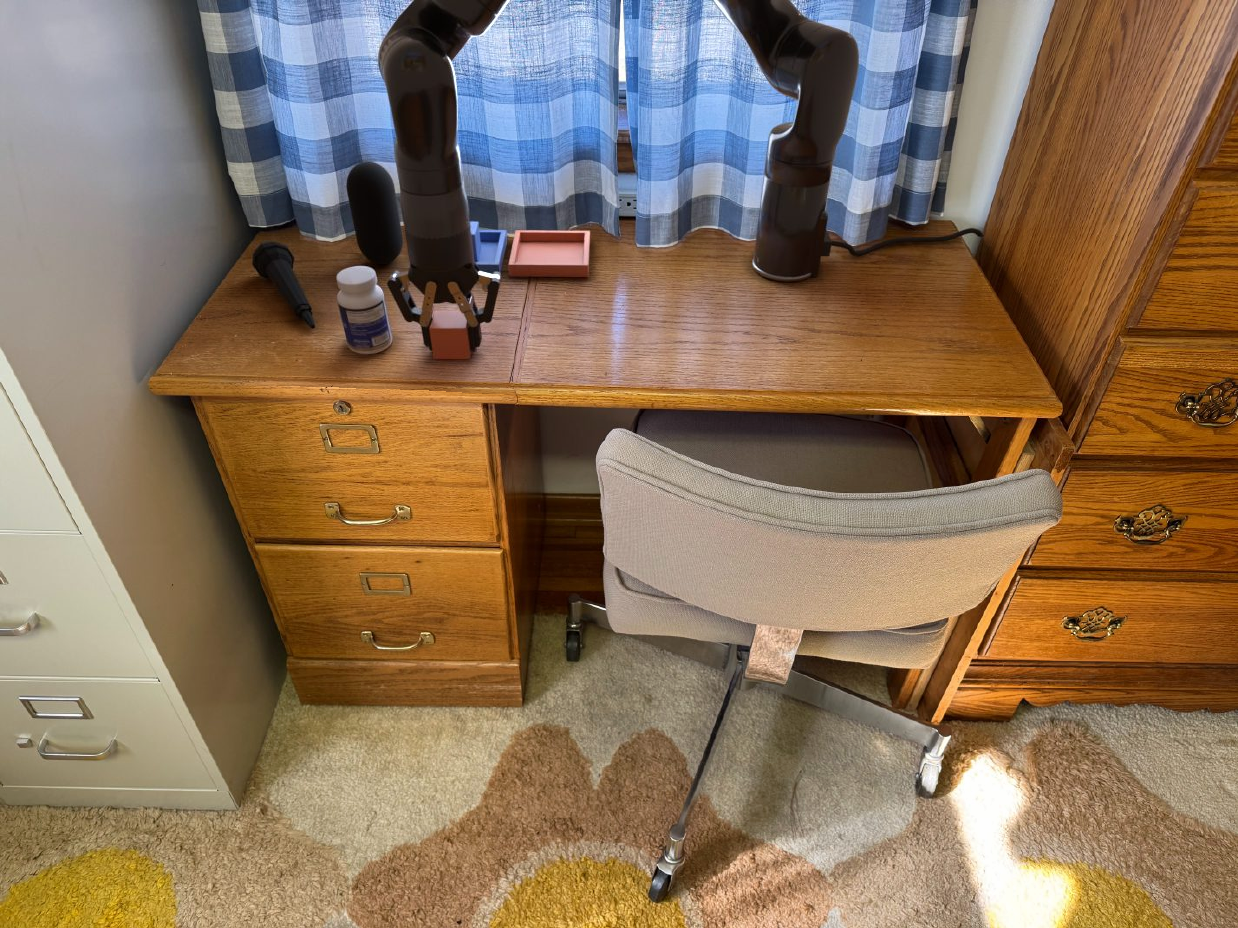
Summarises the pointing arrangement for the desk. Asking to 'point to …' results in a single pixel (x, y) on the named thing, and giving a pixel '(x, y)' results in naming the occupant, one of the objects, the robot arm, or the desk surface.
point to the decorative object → (374, 212)
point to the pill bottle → (363, 310)
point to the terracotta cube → (449, 335)
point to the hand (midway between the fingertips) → (454, 347)
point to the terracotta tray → (550, 253)
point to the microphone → (283, 277)
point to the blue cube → (475, 240)
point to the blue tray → (492, 250)
